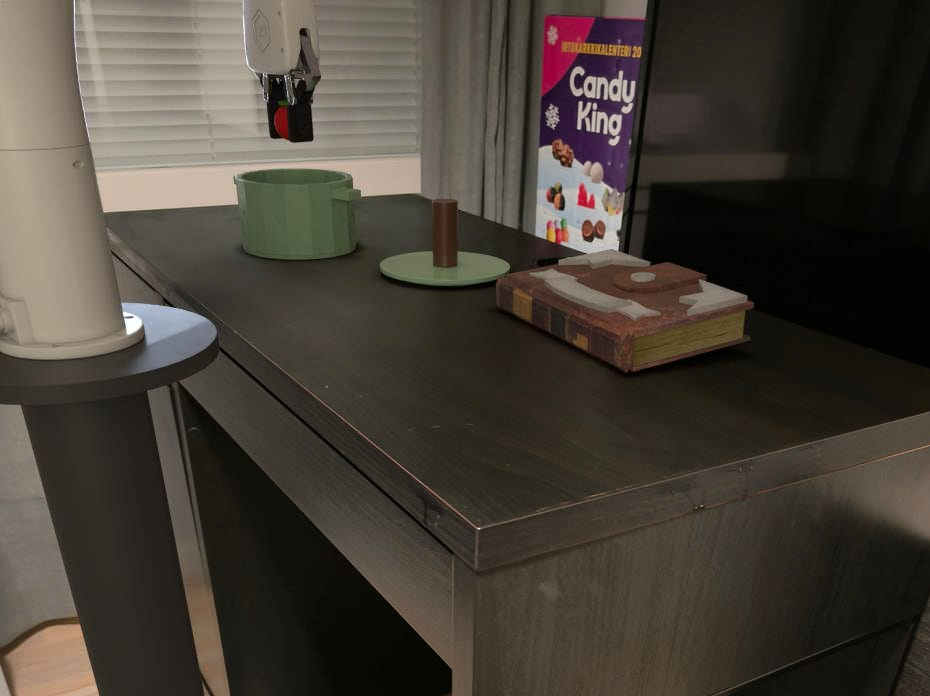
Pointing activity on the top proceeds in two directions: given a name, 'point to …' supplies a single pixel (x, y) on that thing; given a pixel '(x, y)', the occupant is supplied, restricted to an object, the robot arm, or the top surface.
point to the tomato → (282, 119)
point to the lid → (444, 256)
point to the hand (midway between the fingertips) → (291, 138)
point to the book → (626, 308)
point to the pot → (297, 213)
